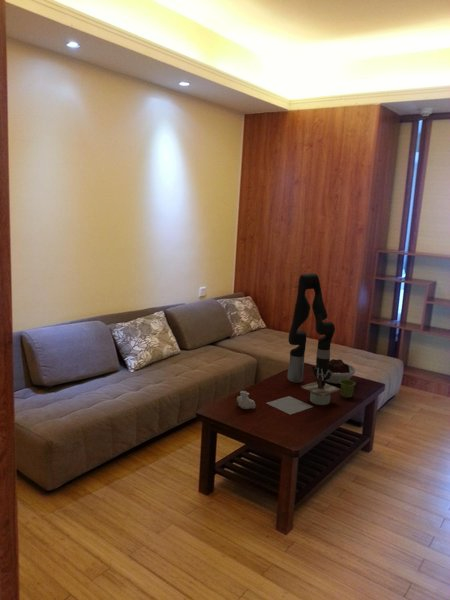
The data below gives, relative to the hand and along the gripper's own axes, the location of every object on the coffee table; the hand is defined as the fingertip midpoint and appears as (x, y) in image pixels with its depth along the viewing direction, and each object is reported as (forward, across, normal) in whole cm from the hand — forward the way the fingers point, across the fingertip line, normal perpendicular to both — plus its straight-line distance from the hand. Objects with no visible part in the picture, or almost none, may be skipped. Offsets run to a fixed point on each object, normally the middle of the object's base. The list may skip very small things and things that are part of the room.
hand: (321, 385), depth 280 cm
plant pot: (+10, +3, +21) cm, 24 cm away
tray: (+10, -6, -19) cm, 22 cm away
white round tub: (+10, -18, +36) cm, 42 cm away
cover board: (+2, 0, 0) cm, 2 cm away
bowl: (+10, 0, 0) cm, 10 cm away
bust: (+11, -18, -42) cm, 47 cm away
